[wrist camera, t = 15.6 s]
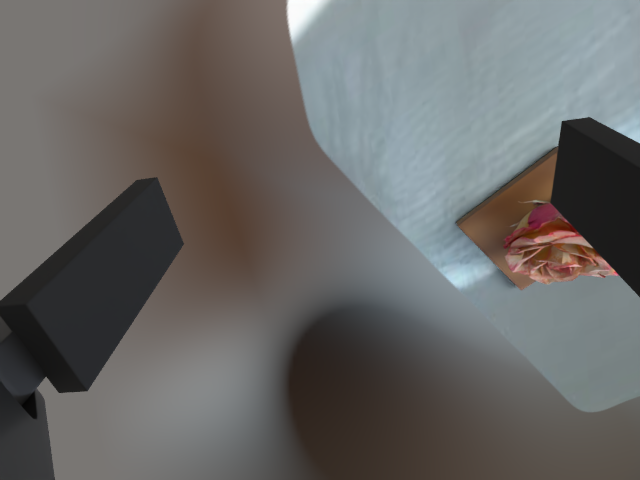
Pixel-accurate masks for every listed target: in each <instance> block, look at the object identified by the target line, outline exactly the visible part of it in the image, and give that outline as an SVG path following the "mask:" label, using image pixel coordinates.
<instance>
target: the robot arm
mask: <svg viewBox="0 0 640 480" xmlns="http://www.w3.org/2000/svg"><path fill="white" fill-rule="evenodd" d="M550 203H551V204H552V205H553V206H554V207H555V208H556V209H557V210H558V212H559V213H560V214H561V215H562V216H563V217H564V218H565V219H566V220H567V221H568V222H569V223H570V224H571V225H572V226H573V227H574V228H575V229H576V230H577V232H578V233H579V234H580V235H581V236H582V237H583V238H584V239H585V240H586V241H587V242H588V243H589V244H590V245H591V246H592V247H593V248H594V249H595V250H596V251H597V253H598V254H599V255H600V256H601V257H602V258H603V259H604V260H605V261H606V262H607V263H608V264H609V265H610V266H611V267H612V268H613V269H614V270H615V271H616V273H617V274H618V275H619V276H620V277H621V278H622V279H623V280H624V281H625V282H626V283H627V284H628V285H629V286H630V287H631V288H632V289H633V290H634V291H635V292H636V294H637V295H638V296H639V297H640V143H638V142H636V141H634V140H632V139H630V138H628V137H626V136H624V135H622V134H620V133H619V132H617V131H615V130H613V129H611V128H609V127H607V126H605V125H603V124H601V123H599V122H597V121H596V120H594V119H592V118H590V117H588V118H581V119H574V120H567V121H562V125H561V132H560V139H559V146H558V153H557V160H556V166H555V173H554V180H553V187H552V194H551V201H550ZM183 244H184V243H183V241H182V238H181V236H180V233H179V231H178V228H177V226H176V224H175V221H174V218H173V216H172V213H171V211H170V208H169V206H168V203H167V201H166V198H165V196H164V193H163V191H162V188H161V186H160V183H159V181H158V178H157V177H156V178H149V179H141V180H136V181H135V182H134V183H133V184H132V185H131V186H130V187H128V188H127V189H126V190H125V191H124V192H123V193H122V194H120V196H118V197H117V198H116V199H115V200H114V201H113V202H112V203H110V204H109V205H108V206H107V207H106V208H105V209H104V210H102V211H101V212H100V213H99V214H98V215H97V216H96V217H94V218H93V219H92V220H91V221H90V222H89V223H88V224H87V225H85V226H84V227H83V228H82V229H81V230H80V231H79V232H78V233H76V234H75V235H74V236H73V237H72V238H71V239H70V240H69V241H67V242H66V243H65V244H64V245H63V246H62V247H61V248H59V249H58V250H57V251H56V252H55V253H54V254H53V255H52V256H50V257H49V258H48V259H47V260H46V261H45V262H44V263H43V264H41V265H40V266H39V267H38V268H37V269H36V270H35V271H33V272H32V273H31V274H30V275H29V276H28V277H27V278H26V279H24V280H23V281H22V282H21V283H20V284H19V285H18V286H16V287H15V288H14V289H13V290H12V291H11V292H10V293H9V294H7V295H6V296H5V297H4V298H3V299H2V300H1V301H0V480H55V477H54V470H53V463H52V454H51V447H50V439H49V431H48V423H47V416H46V408H45V401H44V398H43V396H42V395H41V393H40V392H39V391H38V390H37V387H38V386H39V385H40V383H41V382H42V381H43V379H44V378H45V377H47V378H48V379H49V381H50V382H51V383H52V384H53V386H54V387H55V388H56V390H57V391H58V392H59V393H65V392H80V391H88V389H89V388H90V386H91V385H92V383H93V382H94V380H95V379H96V377H97V376H98V374H99V373H100V371H101V370H102V368H103V366H104V365H105V363H106V362H107V360H108V359H109V357H110V356H111V354H112V353H113V351H114V350H115V348H116V347H117V345H118V344H119V342H120V340H121V339H122V338H123V336H124V335H125V333H126V331H127V330H128V329H129V327H130V325H131V324H132V322H133V321H134V319H135V318H136V316H137V315H138V313H139V312H140V310H141V309H142V307H143V306H144V304H145V303H146V301H147V300H148V298H149V296H150V295H151V293H152V292H153V290H154V289H155V287H156V286H157V284H158V283H159V281H160V280H161V278H162V277H163V275H164V274H165V272H166V271H167V269H168V267H169V266H170V265H171V263H172V261H173V260H174V258H175V257H176V255H177V254H178V252H179V251H180V249H181V248H182V246H183Z"/></svg>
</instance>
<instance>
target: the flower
mask: <svg viewBox="0 0 640 480" xmlns="http://www.w3.org/2000/svg"><path fill="white" fill-rule="evenodd" d="M528 202H532V203H533V205H534V206H537V207H536V208H535V209H533V210H532V211H530V212H529V213H528V214H527V215H526V216H525V217H524V218H523V219H522V220H521V221H520V222H518V223H516V224H514V225H512V226H516V225H518V227H517V228H516V229H515V230H514V232H513V233H512V234H511V235H510V236H507V237H506V238H505V239H504V240H505V241H506V244H505V245H503V246H504V249H506V248H507V247H509V246H510V245H511V246H510V249H509V251H508V254H507V255H506V256H504V257H505V259H506V262H507V263H508V266H509V268H510V270H511V271H512V272H515V273H516V272H518V273H521V274H524V275H526V274H528V275H529V277H530V278H532V279H534V280H536V281H539V282H542V283H544V284H550V283H551V282H564V281H573V280H574V279H575V278H577V277H578V275H586V276H596V277H602V278H605V276H604V275H617V276H619V275H618V274H617V273H616V271H615V270H614V269H613V268H612V267H611V266H610V265H609V264H608V263H607V262H606V261H605V260H604V259H603V258H602V257H601V256H600V255H599V254H598V253H597V251H596V250H595V249H594V248H593V247H592V246H591V245H590V244H589V243H588V242H587V241H586V240H585V239H584V238H583V237H582V236H581V235H580V234H579V233H578V232H577V230H576V229H575V228H574V227H573V226H572V225H571V224H570V223H569V222H568V221H567V220H566V219H565V218H564V217H563V216H562V215H561V214H560V213H559V212H558V210H557V209H556V208H555V207H554V206H553V205H552V204H551V203H550V202H547V201H541V200H533V201H528ZM520 203H521V202H520ZM524 203H526V202H524ZM509 227H510V226H509ZM599 273H600V274H599Z"/></svg>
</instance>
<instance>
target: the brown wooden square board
mask: <svg viewBox="0 0 640 480" xmlns="http://www.w3.org/2000/svg"><path fill="white" fill-rule="evenodd" d="M557 153H558V147H556V148H555V149H553V150H552V151H551V152H549V153H548V154H547V155H545V156H544V157H543V158H541V159H540V160H539V161H537V162H536V163H535V164H533V165H532V166H531V167H529V168H528V169H527V170H525V171H524V172H523V173H521V174H520V175H519V176H517V177H516V178H515V179H513V180H512V181H511V182H509V183H508V184H507V185H505V186H504V187H503V188H501V189H500V190H499V191H497V192H496V193H495V194H493V195H492V196H491V197H489V198H488V199H487V200H485V201H484V202H483V203H481V204H480V205H479V206H477V207H476V208H475V209H473V210H472V211H471V212H469V213H468V214H467V215H465V216H464V217H463V218H461V219H460V220H459V221H457V222H456V223H457V226H458V227H459V228H460V229H461V230H462V231H463V232H464V233H465V234H466V235H467V236H468V237H469V238H470V239H471V240H472V241H473V242H474V243H475V244H476V245H477V246H478V247H479V248H480V249H481V250H482V251H483V252H484V253H485V254H486V255H487V256H488V257H489V258H490V259H491V260H492V261H493V262H494V263H495V264H496V265H497V266H498V268H499V269H500V270H501V271H502V272H503V273H504V274H505V275H506V276H507V277H508V278H509V279H510V280H511V281H512V282H513V283H514V284H515V285H516V286H517V287H518V288H519V289H520V290H523V289H524V288H526V287H528V286H529V285H531V284H532V283H534V282H536V280H534V279H532V278H530V277H529V275H528V274H526V275H524V274H521V273H518V272H516V273H515V272H512V271H511V270H510V268H509V266H508V263H507V262H506V259H505V257H504V256H506V255H507V254H508V251H509V249H510V246H511V245H510V246H509V247H507V248H506V249H504V246H503V245H505V244H506V241H505V240H504V239H505V238H506V237H507V236H510V235H511V234H512V233H513V232H514V230H515V229H516V228H517V227H518V225H516V226H512V225H514V224H516V223H518V222H520V221H521V220H522V219H523V218H524V217H525V216H526V215H527V214H528V213H529V212H530V211H532V210H533V209H535V208H536V207H537V206H534V205H533V203H532V202H528V201H533V200H541V201H547V202H550V201H551V194H552V187H553V180H554V173H555V166H556V160H557ZM520 202H521V203H520ZM524 202H526V203H524ZM509 226H510V227H509Z"/></svg>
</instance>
